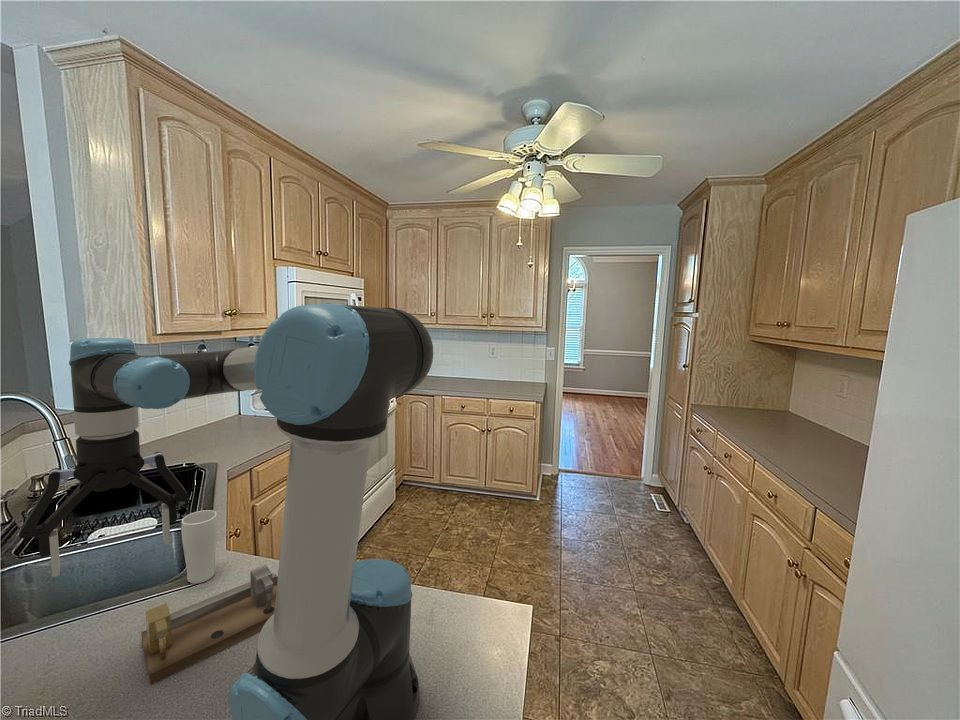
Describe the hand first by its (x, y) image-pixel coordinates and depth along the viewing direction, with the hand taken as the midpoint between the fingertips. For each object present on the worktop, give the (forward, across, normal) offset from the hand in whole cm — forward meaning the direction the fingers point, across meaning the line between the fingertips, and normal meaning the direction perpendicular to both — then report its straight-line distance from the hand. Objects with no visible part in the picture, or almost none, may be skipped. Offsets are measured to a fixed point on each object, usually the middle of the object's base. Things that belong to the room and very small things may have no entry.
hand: (115, 555), depth 66 cm
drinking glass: (+21, -15, -19) cm, 32 cm away
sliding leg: (+19, -5, +2) cm, 20 cm away
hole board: (+21, -15, +1) cm, 26 cm away
